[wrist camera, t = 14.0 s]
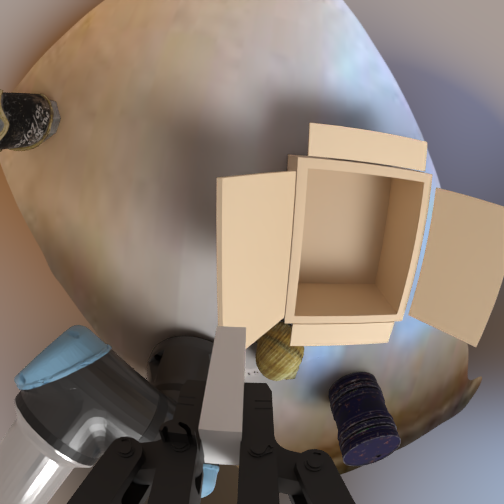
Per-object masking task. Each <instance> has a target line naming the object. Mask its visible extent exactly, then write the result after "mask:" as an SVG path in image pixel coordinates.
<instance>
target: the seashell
mask: <svg viewBox="0 0 504 504" xmlns="http://www.w3.org/2000/svg"><path fill="white" fill-rule="evenodd" d="M291 332H292V326H290V325H288V324H287V323H284V322H278V323H277V324H276V325H274V326H273V327H272V328H271V329H270V330H268V331H267V332H266V333H265V334H264V335H262V336H261V337H260V338H259V339H257V340H256V341H255V342H256V343H257V350H256V364H257V367H258V369H259V371H260V372H261V373H262V374H263V375H264V376H265V377H266V378H268V379H270V380H275V381H279V380H283V379H286V380H287V379H295V376H296V374H297V371H298V369H299V365H300V363H301V361H302V358H303V355H304V353H303V352H304V346H290V339H291Z"/></svg>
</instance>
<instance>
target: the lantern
mask: <svg viewBox="0 0 504 504" xmlns="http://www.w3.org/2000/svg"><path fill="white" fill-rule="evenodd" d="M60 119H61V118H60V114H59V111H58V107H57V103H56V101H52V100H49V99H48V98H47V97H46V96H45V95H44V94H28V93H3V90H1V89H0V152H1V151H2V149H9V150H14V151H25V150H30V149H33V148H35V147H37V146H39V145H40V144H41V143H42V142H44V141H45V140H47V139H48V138H49V137H51V136H52V135H53V134H54V133H56V131H57V127H58V124H59V122H60Z"/></svg>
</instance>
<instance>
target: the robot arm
mask: <svg viewBox="0 0 504 504" xmlns="http://www.w3.org/2000/svg"><path fill="white" fill-rule="evenodd" d="M245 352H246V327H227V326H217V329H216V334H215V340H214V343H212V342H210V341H207V340H204V339H201V338H197V337H190V336H179V337H173V338H169V339H166V340H164V341H162V342H161V343H159V344H158V345H157V346H156V347H155V348H154V350H153V351H152V353H151V356H150V358H149V360H148V364H147V380H146V379H145V378H144V377H142V376H141V375H140V374H139V373H138V372H136V371H135V370H134V369H133V368H132V367H131V366H130V365H128V364H127V363H126V362H125V361H124V360H123V359H122V358H121V357H119V356H118V355H117V354H116V353H115V352H114V351H113V350H112V347H111V346H110V345H108V344H105V343H104V342H103V341H102V340H101V339H100V338H98V337H97V336H96V335H95V334H94V333H93V332H92V331H91V330H89V329H88V328H87V327H85V326H81V325H75V326H72V327H70V328H69V329H68V330H66V331H65V332H64V333H63V334H62V335H60V336H59V337H58V338H57V339H56V340H55V341H53V342H52V343H51V344H50V345H49V346H48V347H47V348H45V349H44V350H43V351H42V352H41V353H40V354H39V355H38V356H36V357H35V358H34V359H33V360H32V361H31V362H30V363H29V364H28V365H27V366H26V367H25V368H24V369H23V370H22V371H20V373H18V375H16V377H15V379H14V381H15V383H16V384H17V387H18V388H19V389H20V390H21V391H20V392H19V394H18V395H17V396H16V398H15V399H14V406H15V410H16V414H17V419H16V420H15V421H14V423H13V424H12V426H11V427H10V428H9V430H8V432H7V433H6V434H5V436H4V437H3V439H2V440H1V442H0V504H47V503H48V501H49V500H50V499H51V497H52V496H53V495H54V493H55V492H56V491H57V490H58V488H59V487H60V486H61V484H62V483H63V482H64V480H65V479H66V477H67V476H68V475H69V474H70V472H71V471H72V470H73V468H75V467H87V468H89V467H92V466H93V465H94V463H95V462H96V461H97V459H98V458H99V457H100V456H101V455H102V457H101V458H100V459H99V461H98V462H97V463H96V465H95V466H94V467H93V469H92V470H91V472H90V473H89V474H88V476H87V477H86V478H85V480H84V481H83V482H82V484H81V485H80V486H79V488H78V489H77V490H76V492H75V493H74V495H73V496H72V497H71V499H70V500H69V501H68V503H67V504H144V503H145V502H146V500H147V498H148V496H149V500H148V504H200V502H201V498H202V497H205V496H207V495H208V494H210V493H211V492H212V491H213V490H214V487H215V483H216V477H217V472H219V464H226V465H239V479H238V502H237V504H279V492H281V493H285V494H288V495H289V498H290V501H291V503H292V504H355V502H354V500H353V499H352V496H351V495H350V493H349V491H348V489H347V487H346V485H345V483H344V481H343V480H342V478H341V476H340V474H339V472H338V470H337V468H336V466H335V464H334V462H333V460H332V458H331V457H330V456H329V455H328V454H327V453H326V452H324V451H322V450H317V449H312V450H307V451H305V452H302V453H298V452H293V451H289V450H286V449H284V448H283V447H281V446H280V445H279V444H278V443H277V442H276V440H275V437H274V424H273V407H272V391H271V390H270V388H269V386H268V385H267V383H244V382H245Z"/></svg>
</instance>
